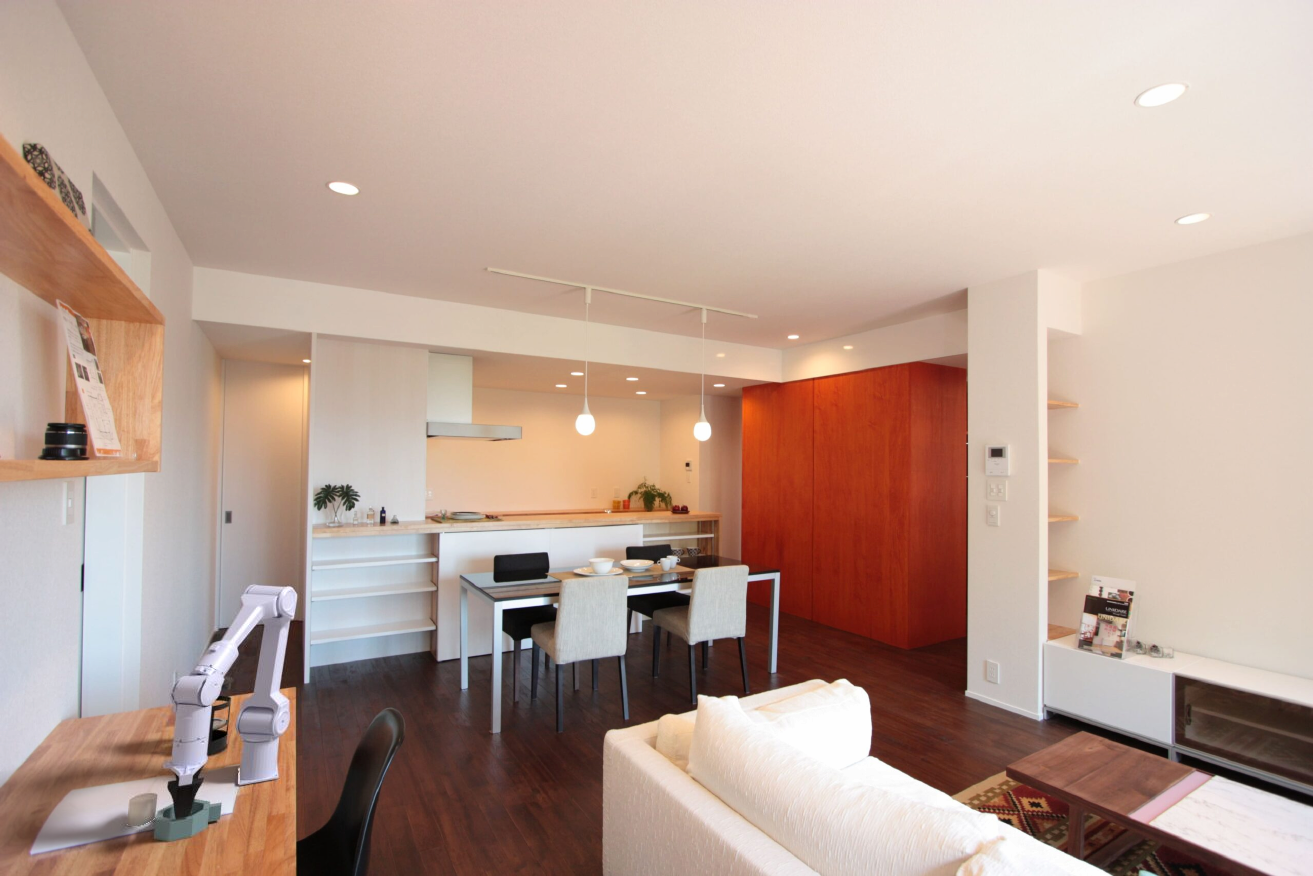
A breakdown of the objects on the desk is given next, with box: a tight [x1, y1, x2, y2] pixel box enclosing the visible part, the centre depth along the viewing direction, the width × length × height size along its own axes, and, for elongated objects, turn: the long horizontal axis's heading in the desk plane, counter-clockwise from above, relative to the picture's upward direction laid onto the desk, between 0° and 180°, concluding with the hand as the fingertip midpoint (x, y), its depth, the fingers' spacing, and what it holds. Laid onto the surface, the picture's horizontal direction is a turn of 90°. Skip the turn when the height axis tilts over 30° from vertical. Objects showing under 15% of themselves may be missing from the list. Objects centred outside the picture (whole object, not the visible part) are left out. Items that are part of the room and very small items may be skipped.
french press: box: [207, 675, 234, 757], centre depth 161 cm, size 12×9×23 cm
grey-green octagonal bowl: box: [153, 798, 223, 842], centre depth 125 cm, size 8×10×4 cm
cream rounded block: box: [126, 792, 158, 827], centre depth 127 cm, size 4×4×4 cm
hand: (183, 808), depth 125 cm, fingers open, 7 cm apart
